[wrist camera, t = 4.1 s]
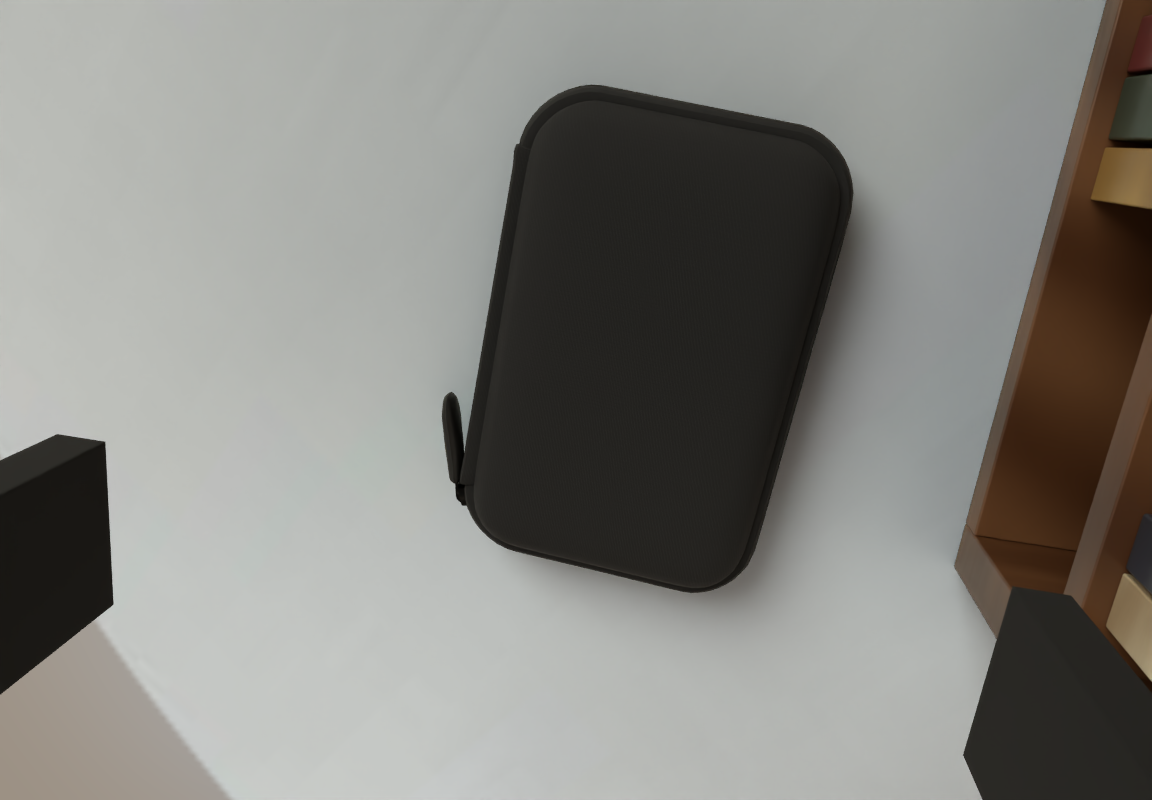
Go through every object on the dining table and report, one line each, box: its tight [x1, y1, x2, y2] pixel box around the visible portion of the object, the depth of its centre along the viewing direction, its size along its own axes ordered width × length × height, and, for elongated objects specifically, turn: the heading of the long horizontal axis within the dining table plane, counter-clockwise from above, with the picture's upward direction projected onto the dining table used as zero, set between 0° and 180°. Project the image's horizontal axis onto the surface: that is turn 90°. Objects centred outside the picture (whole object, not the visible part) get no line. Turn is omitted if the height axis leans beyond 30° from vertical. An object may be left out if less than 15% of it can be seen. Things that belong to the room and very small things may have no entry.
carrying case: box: [442, 85, 853, 593], centre depth 27 cm, size 11×3×15 cm
